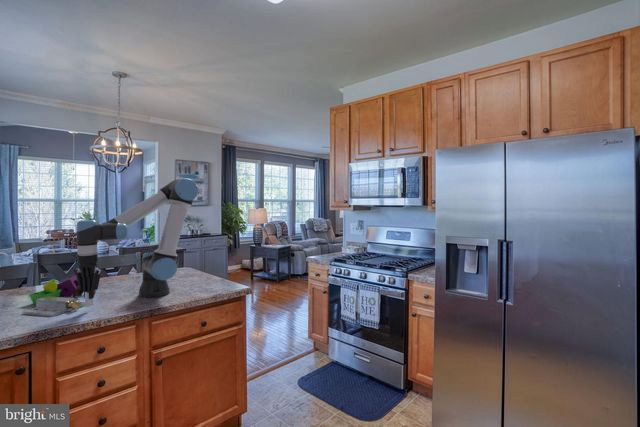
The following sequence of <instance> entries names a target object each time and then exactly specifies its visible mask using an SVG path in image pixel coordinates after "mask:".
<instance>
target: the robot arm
mask: <svg viewBox="0 0 640 427" xmlns="http://www.w3.org/2000/svg"><path fill="white" fill-rule="evenodd" d="M198 194H199V187H198V184H197V183H196V182H195V180H193V179H190V178H186V177H183V178H179V179H174V180H172V181H170V182H169V183H167V184H166V185H164V186H163V187H161V188H160V189H158V190H157V192H156V193H155V194H154V195H151V196H149V197H148V198H146V199H144V200H143V201H141V202H139V203H138V204H136V205H134V206H132V207H130V208H129V209H127V210H126V211H124V212H121V213H120V214H118V215H116V216H115V217H113V218H111V219H109V220H108V221H106V222H105V221H104V222H102V223H101V224H100V223H99V224H98V222H97V220H93V219H92V220H90V219H89V220H88V219H87V220H79V221H77V223H76V245H77V246H76V247H77V248H76V250H77V251H76V252H77V253H76V254H77V264H78V268H76V269H74V270H73V272H74V275H75V276H76V277H77V281H78V285H79V290H82V291H83V299H84V302H85V306H84V307H85V308H87V307H89V308H90V307H92V306H94V298H95V295H94V291H95V290H96V291H97V290H98V289H99V285H100V279H101V274H102V273H103V269H99V268H98V264H97V263H98V261H99V259H98V258H99V256H98V241H112V240H114V241H115V240H118V241H119V240H125V239H127V237H128V228H129V227H131V226H132V225H134V224H135V223H137V222H139V221H141V220H142V219H144V218H146V217H147V216H149V215H151V214H153V213H154V212H156V211H157V210H159V209H161V208H162V207H164V206H166V205H168V206H169V210H168V213H167V217H166V220H165V223H164V226H163V231H162V234H161V238H160V241H159V244H158V248H157V249H155V250H153V252H144V253H143V254H142V257H141V263H142V264H141V265H142V268H141V269H142V273H141V274H142V277H141V278H142V279H141V280H142V281H141V284H140V287H139V290H138V296H139V297H140V298H156V297H157V298H158V297H162V296H166V295H168V294H170V291H171V290H170V286H169V283H168V280H170V279H171V278H173V277H174V276H175V275H176V273H177V271H178V263H177V260H178V256H179V255H178V253H177V252H176V251H177V248H178V244H179V242H180V238H181V234H182V229H183V227H184V222H185V220H186V216H187V213H188V209H189V208H190V207H192V205H193V202H194V200H195V199H196V198H197V196H198Z"/></svg>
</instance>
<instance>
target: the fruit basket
mask: <svg viewBox="0 0 640 427" xmlns="http://www.w3.org/2000/svg"><path fill="white" fill-rule="evenodd" d="M57 284H58V283H57V280H56V279H55V278H54V279H50V280H49V281H47V282H46V283H45V284H43V287H42V288H43V290H40V291H37V292H34V293H33V292H32V293H29V297H30V300H31V303H32V304H33V305H36V300H37V299H40V298H44V297H60V292H61V290H62V289H57Z"/></svg>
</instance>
